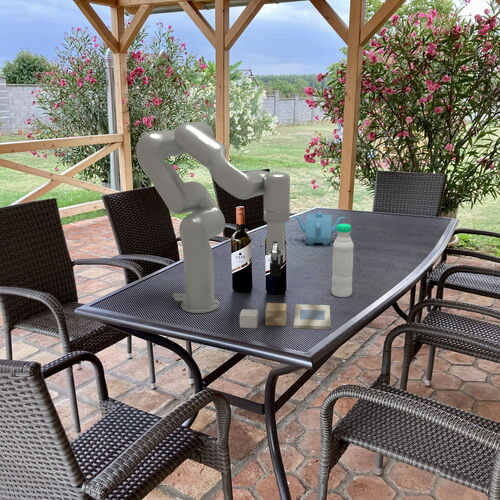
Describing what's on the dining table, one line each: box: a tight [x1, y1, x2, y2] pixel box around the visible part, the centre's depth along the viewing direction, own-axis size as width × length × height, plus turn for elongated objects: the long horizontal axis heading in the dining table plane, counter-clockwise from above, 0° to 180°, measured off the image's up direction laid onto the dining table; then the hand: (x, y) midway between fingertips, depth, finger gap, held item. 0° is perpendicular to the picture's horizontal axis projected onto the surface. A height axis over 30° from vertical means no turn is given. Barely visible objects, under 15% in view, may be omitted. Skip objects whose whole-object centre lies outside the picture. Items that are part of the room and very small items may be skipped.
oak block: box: [264, 302, 288, 327], centre depth 159 cm, size 6×6×5 cm
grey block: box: [239, 308, 259, 329], centre depth 158 cm, size 5×5×4 cm
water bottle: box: [331, 223, 355, 298], centre depth 179 cm, size 7×7×25 cm
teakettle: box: [292, 210, 346, 247], centre depth 250 cm, size 19×19×15 cm
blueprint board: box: [293, 303, 332, 331], centre depth 162 cm, size 11×17×1 cm, turn 173°
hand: (276, 271), depth 156 cm, fingers open, 9 cm apart
